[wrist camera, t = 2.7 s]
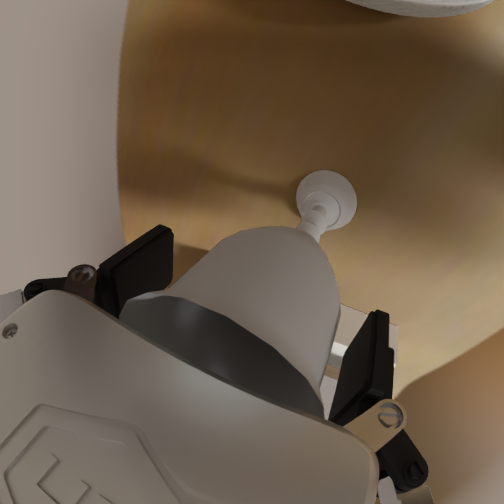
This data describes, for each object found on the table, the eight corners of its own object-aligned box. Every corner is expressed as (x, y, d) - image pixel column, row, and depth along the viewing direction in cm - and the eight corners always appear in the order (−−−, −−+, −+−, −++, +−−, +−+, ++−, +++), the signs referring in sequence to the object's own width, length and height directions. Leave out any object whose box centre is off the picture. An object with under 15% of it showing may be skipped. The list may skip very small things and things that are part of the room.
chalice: (376, 235, 21) (342, 460, 7) (300, 248, 25) (189, 430, 11) (353, 146, 19) (277, 279, 5) (273, 168, 22) (88, 296, 8)
